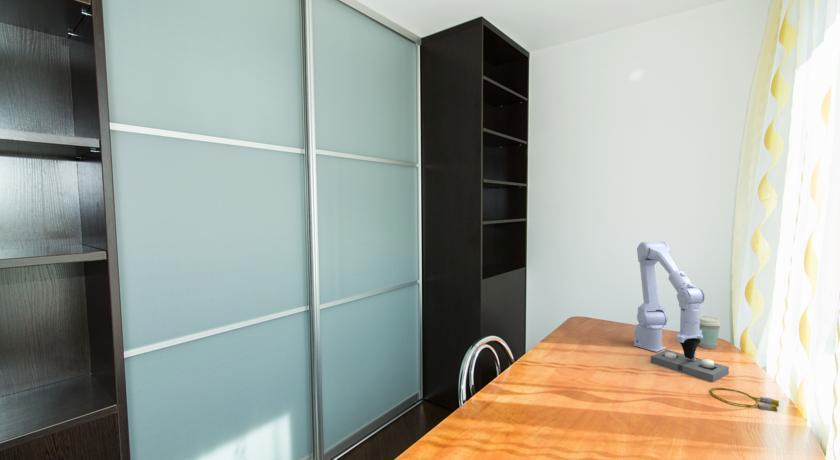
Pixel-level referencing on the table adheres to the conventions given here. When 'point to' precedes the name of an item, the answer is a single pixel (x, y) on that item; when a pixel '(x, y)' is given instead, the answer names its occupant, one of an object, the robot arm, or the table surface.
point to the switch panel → (690, 366)
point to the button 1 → (670, 355)
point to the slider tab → (693, 358)
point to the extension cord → (763, 399)
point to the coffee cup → (709, 332)
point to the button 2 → (707, 363)
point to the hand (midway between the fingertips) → (689, 357)
